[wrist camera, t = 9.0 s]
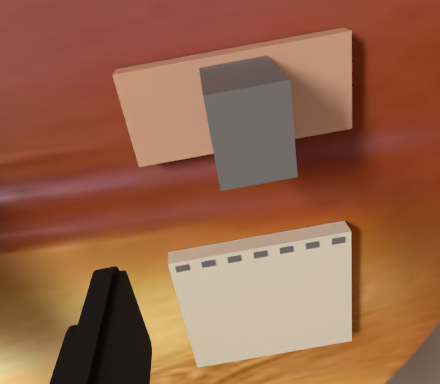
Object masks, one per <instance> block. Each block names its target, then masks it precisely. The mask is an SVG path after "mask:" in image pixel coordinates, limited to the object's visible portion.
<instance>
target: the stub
mask: <svg viewBox="0 0 440 384" xmlns="http://www.w3.org/2000/svg"><path fill="white" fill-rule="evenodd" d="M113 79H114V82H115V86H116V89H117V93H118V96H119V99H120V103H121V106H122V110H123V113H124V117H125V120H126V124H127V127H128V131H129V134H130V137H131V141H132V144H133V148H134V151H135V155H136V158H137V162H138V165H139V167H143V166H148V165H154V164H159V163H165V162H170V161H176V160H181V159H187V158H193V157H198V156H204V155H209V154H214V158H215V163H216V168H217V174H218V179H219V185H220V190H221V191H223V190H228V189H234V188H240V187H245V186H251V185H256V184H262V183H267V182H273V181H278V180H284V179H290V178H295V177H298V175H297V162H296V149H295V139H298V138H303V137H309V136H314V135H320V134H325V133H331V132H336V131H342V130H347V129H352V31H351V30H348V29H346V28H337V29H332V30H327V31H321V32H316V33H310V34H305V35H299V36H294V37H289V38H283V39H278V40H272V41H267V42H261V43H256V44H251V45H245V46H240V47H234V48H229V49H223V50H218V51H213V52H207V53H202V54H196V55H191V56H185V57H180V58H175V59H169V60H164V61H158V62H153V63H147V64H142V65H137V66H131V67H126V68H120V69H116V70H115V72H114V73H113Z"/></svg>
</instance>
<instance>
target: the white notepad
mask: <svg viewBox="0 0 440 384" xmlns="http://www.w3.org/2000/svg"><path fill="white" fill-rule="evenodd" d="M168 267H169V270H170V274H171V277H172V281H173V284H174V288H175V291H176V295H177V298H178V301H179V305H180V308H181V312H182V315H183V319H184V322H185V326H186V329H187V333H188V336H189V340H190V343H191V347H192V350H193V354H194V357H195V360H196V364H197V367H198V368H199V367H204V366H210V365H216V364H222V363H227V362H233V361H239V360H245V359H250V358H256V357H262V356H268V355H273V354H279V353H285V352H290V351H296V350H302V349H308V348H313V347H319V346H325V345H331V344H336V343H342V342H348V341H352V247H351V230H350V228H349V227H348V225H347V224H346V222H345V221H340V222H334V223H328V224H323V225H317V226H312V227H306V228H300V229H295V230H289V231H283V232H278V233H272V234H267V235H261V236H255V237H250V238H244V239H239V240H233V241H227V242H222V243H216V244H210V245H205V246H199V247H194V248H188V249H182V250H177V251H171V252H168Z"/></svg>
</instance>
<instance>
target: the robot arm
mask: <svg viewBox="0 0 440 384" xmlns="http://www.w3.org/2000/svg"><path fill="white" fill-rule="evenodd" d="M151 358H152V347H151V341H150V338H149V335H148V332H147V329H146V326H145V323H144V321H143V318H142V315H141V312H140V309H139V306H138V304H137V301H136V298H135V295H134V292H133V289H132V287H131V284H130V281H129V278H128V275H127V273H126V271H119V269H118V268H117V267H110V268H105V269H99V270H95V271H94V273H93V275H92V279H91V282H90V285H89V289H88V292H87V296H86V299H85V302H84V306H83V309H82V312H81V316H80V319H79V323H78V325H73V326H70V327H69V328H68V330H67V332H66V334H65V338H64V341H63V344H62V347H61V350H60V353H59V356H58V359H57V362H56V365H55V369H54V372H53V375H52V378H51V381H50V384H149V383H150V371H151Z"/></svg>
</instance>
